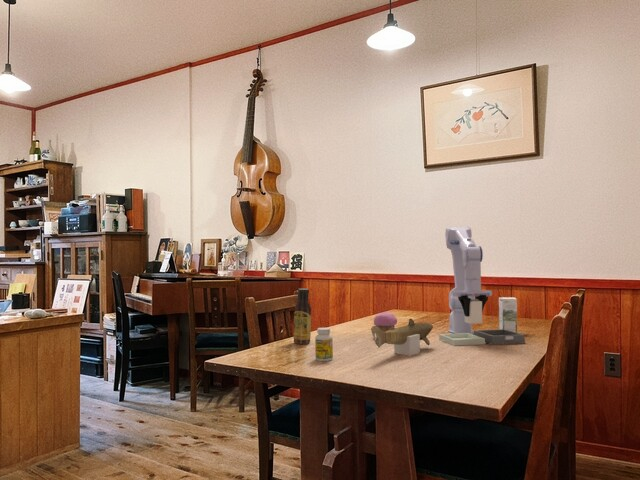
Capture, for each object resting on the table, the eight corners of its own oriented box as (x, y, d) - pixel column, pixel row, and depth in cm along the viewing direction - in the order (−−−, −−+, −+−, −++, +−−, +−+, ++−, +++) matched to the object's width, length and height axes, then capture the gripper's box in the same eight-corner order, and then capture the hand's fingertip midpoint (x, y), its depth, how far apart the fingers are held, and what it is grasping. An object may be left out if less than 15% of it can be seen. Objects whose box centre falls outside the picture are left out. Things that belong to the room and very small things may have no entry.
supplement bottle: (334, 358, 154) (334, 327, 154) (330, 361, 149) (329, 330, 149) (318, 357, 155) (318, 326, 156) (313, 360, 150) (313, 329, 150)
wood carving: (360, 361, 149) (359, 324, 150) (419, 344, 175) (419, 313, 176) (384, 365, 143) (384, 327, 144) (442, 347, 169) (441, 315, 170)
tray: (439, 339, 185) (439, 334, 185) (468, 338, 187) (468, 333, 187) (454, 345, 173) (454, 339, 173) (484, 344, 175) (484, 338, 175)
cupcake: (400, 337, 190) (400, 311, 190) (391, 340, 183) (391, 314, 183) (379, 335, 195) (379, 310, 195) (369, 338, 187) (369, 312, 188)
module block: (464, 321, 182) (464, 298, 183) (475, 321, 183) (475, 298, 184) (471, 323, 178) (470, 300, 178) (482, 323, 179) (481, 299, 179)
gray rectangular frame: (473, 338, 187) (473, 330, 187) (504, 336, 190) (504, 329, 190) (493, 345, 174) (493, 336, 174) (525, 343, 176) (525, 335, 176)
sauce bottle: (290, 344, 177) (290, 289, 178) (297, 341, 183) (297, 287, 184) (307, 345, 175) (306, 289, 175) (313, 342, 181) (313, 288, 181)
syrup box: (513, 332, 201) (512, 296, 201) (517, 334, 195) (517, 298, 195) (498, 331, 202) (498, 296, 202) (502, 334, 196) (502, 298, 196)
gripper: (460, 280, 176) (460, 317, 175) (496, 279, 179) (496, 316, 178) (450, 278, 183) (451, 315, 182) (485, 278, 186) (486, 314, 185)
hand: (473, 315), depth 181 cm, fingers closed on module block, 4 cm apart
